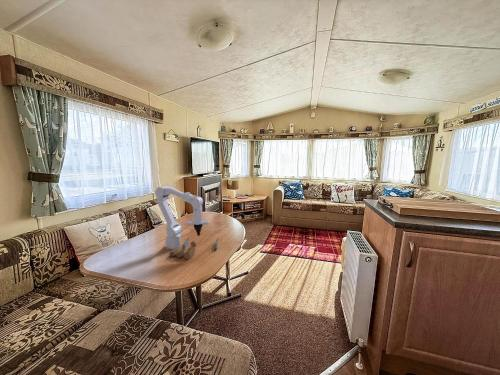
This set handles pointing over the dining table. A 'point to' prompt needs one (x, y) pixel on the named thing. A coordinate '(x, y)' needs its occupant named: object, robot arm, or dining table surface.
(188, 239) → the pair of rectangular slabs
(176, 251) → the wooden block set
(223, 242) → the dining table surface
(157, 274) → the dining table surface
